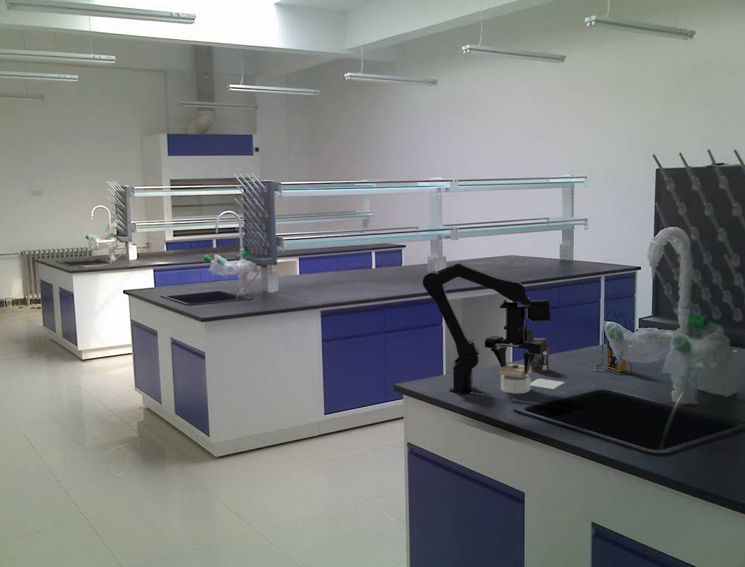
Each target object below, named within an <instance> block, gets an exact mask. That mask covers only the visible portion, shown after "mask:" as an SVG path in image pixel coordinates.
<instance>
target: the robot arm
mask: <svg viewBox="0 0 745 567" xmlns="http://www.w3.org/2000/svg"><path fill="white" fill-rule="evenodd" d="M456 278H461V279H463V280H467V281H468V282H472V283H475V284H477V285H480V286H482V287H485V288H488V289H490V290H493V291H495V292H496V293H498V294H500V295H501V296H502V297H505V298H506V299H503V301H502V302H501V303H500V304H499V308H500V309H505V325H504V326H503V330H505V338H504V336H500V335H499V336H497V335H491V336H489V337H486V338H485V339H484V342H483V343H484V345H483V346H484V348H487V349H488V348H489V349H490V351H491V352H493V354H494V355H495V356H496V358H497V361H498V362H499V364H500V368H501V367H504V366H506V365H507V357H506V356H507V354H506V353H507V349H508V348H515V349H522V350H523V349H524V350H526V352H523V360H524V361H523V364H524V369H525V374H527V373H528V372H529V369H530V366H531V363H532V361H533V359H534V357H535V355H536V354H541V353H543V352H545V351H547V346H548V343H547V342H543V341H534V331H532V330H530V329H528V325H527V324H526V321H525V319H527V320H529V321H530V323H550V322H551V310H550V301H549V299H542V300H539V299H538V300H537V299H535V300H531V298H530V297H529V296H528V295H527V294H526V289H525V286H524V285H523V283H522V282H521V281H519V280H515V279H509V278H505V277H504V278H503V277H497V276H494V275H492V274H488V273H487V272H483V271H481V270H478V269H475V268H473V267H469V266H467V265H465V264H462V263H461V262H455V263H454V264H451V265H449V266H447V267H444V268H442V269H440V270H438V271H437V270H429V271H428V272H426V274H425V275H424V277H423V278H422V285H423V288H424V289H425V290H426V292H427V294H428V295H429V296H430V298H431V299H433V301H434V302H435V303H436V305H437V308H438V310H439V312H440V314H441V316H442V318H443V320H444V321H445V322H444V323H445V325H446V326H447V328H448V331H449V332H450V335H451V337H452V339H453V341H454V343H455V347H456V351H457V352H456V353H457V356H458V357H457V358H456V359H455V360H454V361H453V363H452V364H453V365H452V369H453V372H452V374H453V377H452V378H453V380H452V382H453V383H452V384H453V386H452V387H451V388H449V391H450V392H455V393H459V392H460V394H466V395H467V394H470V393H472V391H474V390H477V387H476V386H474V384H473V383H474V382H473V377H474V376H473V369H474V368H475V367H477V365H478V364H479V355H480V349H479V348H478V347H477V345H476V341H475V339H474V338H471V340H470V339H469V338H468V337H467V335H466V333H465V332H464V330H463V328H462V325H461V323H460V321H459V319H458V317H457V314H456V312H455V311H454V309H453V306H452V305H451V302H450V301H449V297H448V296H447V295H448V294H447V292H446V287H445V284H446V283H448V282H450V281H453V280H454V279H456ZM507 299H508V300H510V301H507ZM518 302H519V303H521V304H518ZM525 310H526V311H525ZM525 313H526V315H525ZM525 317H526V318H525Z"/></svg>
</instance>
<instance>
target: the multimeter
mask: <svg viewBox="0 0 745 567" xmlns="http://www.w3.org/2000/svg"><path fill="white" fill-rule="evenodd" d="M610 313H614V315H615V318H617V319H619V318H620V316H622V318H623V322H624V323H625V331H626V330H627V329H628V328H627V322H626V320H625V316H624V314H623V313H622V312H620V313H619V314H618V316H617V315H616V313H615V311H614V310H610V311H609V312H608V313H607V314H606V316H605V319H604V323H603V326H602V333H601V344H602V345H601V346H602V347H601V348H602V353H604V342H603V341H604V340H603V339H604V338H603V337H604V336H603V335H604V329H605V324H606V320H607V317H608V316H609V314H610ZM628 363H629V366H630V371H631V373H628V374H624V373H623V374H622V372H626V371H627V360H626V361H625V360H623V361H622V363H621V365H619V363H618V361H617V359H616V357H615V355H614V353H613V351H612V349H611V347H610V345H609V341H608V339H607V338H606V368H607V369H608V368H610V370H608V372H610V373H612V374H614V375H617V374H618V376H631V375H633V368H632V365H631V364H632V363H631V362H629V361H628ZM603 364H604V360H602V361H601V364H598V365H595V366H594V370H595V371H596V372H606V370H604V369H597V367H601V366H602V365H603ZM612 370H613V371H616V372H617V373H616V372H613V371H612Z"/></svg>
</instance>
